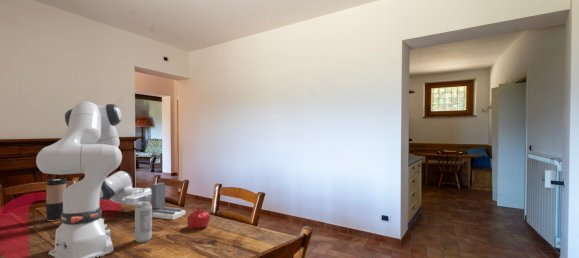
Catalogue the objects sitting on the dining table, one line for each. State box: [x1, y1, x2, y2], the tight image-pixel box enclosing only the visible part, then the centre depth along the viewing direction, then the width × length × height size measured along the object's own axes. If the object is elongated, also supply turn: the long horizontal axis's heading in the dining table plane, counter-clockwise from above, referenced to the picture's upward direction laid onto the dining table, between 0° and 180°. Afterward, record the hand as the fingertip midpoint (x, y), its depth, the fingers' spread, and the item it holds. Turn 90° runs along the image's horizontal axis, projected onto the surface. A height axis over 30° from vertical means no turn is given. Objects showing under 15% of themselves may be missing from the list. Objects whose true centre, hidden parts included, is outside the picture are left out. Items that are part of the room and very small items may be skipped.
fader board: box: [152, 206, 186, 220], centre depth 142 cm, size 21×9×3 cm, turn 72°
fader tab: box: [150, 182, 166, 210], centre depth 143 cm, size 5×6×14 cm
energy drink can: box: [134, 201, 153, 244], centre depth 109 cm, size 6×6×15 cm
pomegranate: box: [186, 206, 211, 230], centre depth 125 cm, size 10×10×9 cm
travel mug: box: [45, 177, 67, 221], centre depth 135 cm, size 8×8×20 cm
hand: (155, 198), depth 144 cm, fingers closed, pressing on fader tab
